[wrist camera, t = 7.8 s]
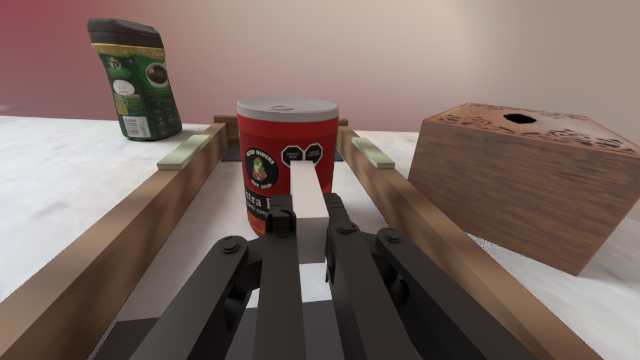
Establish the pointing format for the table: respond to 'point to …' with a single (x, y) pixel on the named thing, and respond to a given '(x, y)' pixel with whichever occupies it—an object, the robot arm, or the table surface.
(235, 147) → the pad
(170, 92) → the coffee jar
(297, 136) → the canned food
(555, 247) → the tissue box cover
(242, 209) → the table surface
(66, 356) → the lane box
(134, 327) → the near trap pad
